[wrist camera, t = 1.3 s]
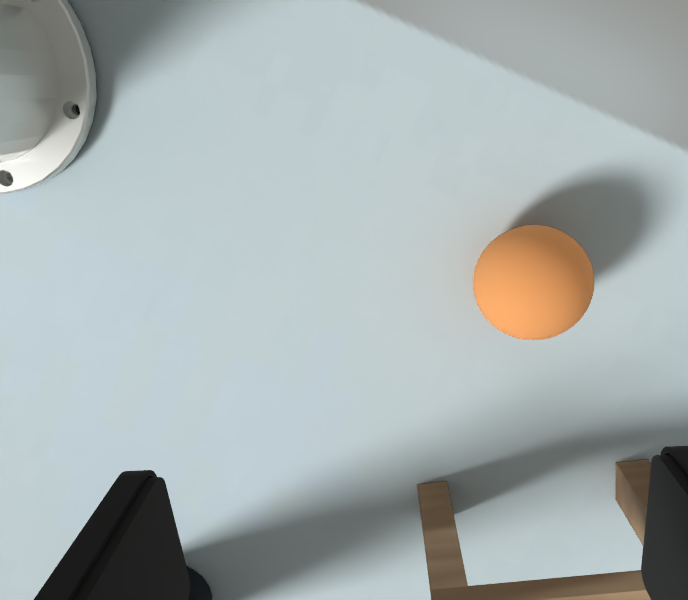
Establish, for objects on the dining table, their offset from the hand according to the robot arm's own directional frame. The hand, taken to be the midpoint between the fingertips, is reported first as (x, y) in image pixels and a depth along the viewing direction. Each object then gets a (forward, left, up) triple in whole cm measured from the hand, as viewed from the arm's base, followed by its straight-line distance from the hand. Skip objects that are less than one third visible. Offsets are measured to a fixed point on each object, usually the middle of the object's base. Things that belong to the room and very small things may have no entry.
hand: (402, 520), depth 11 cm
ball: (+3, +8, -20) cm, 21 cm away
